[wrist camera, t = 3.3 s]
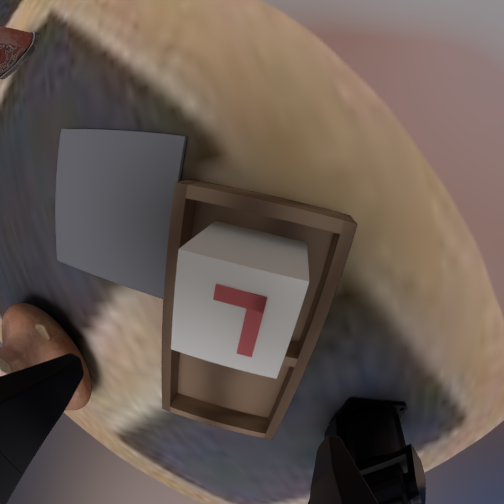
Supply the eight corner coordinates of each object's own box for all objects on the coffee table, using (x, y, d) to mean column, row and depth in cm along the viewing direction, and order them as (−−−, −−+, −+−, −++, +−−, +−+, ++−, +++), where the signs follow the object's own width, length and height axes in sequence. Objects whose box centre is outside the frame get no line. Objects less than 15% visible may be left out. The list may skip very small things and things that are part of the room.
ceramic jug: (31, 261, 23) (-67, 318, 10) (122, 359, 25) (39, 459, 11) (18, 339, 30) (-40, 388, 17) (84, 408, 31) (34, 471, 18)
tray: (350, 215, 17) (357, 224, 15) (274, 421, 24) (272, 439, 22) (190, 179, 18) (175, 182, 16) (171, 392, 25) (162, 408, 23)
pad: (187, 136, 17) (185, 136, 17) (167, 297, 21) (165, 299, 21) (64, 129, 18) (61, 128, 18) (60, 259, 22) (57, 260, 22)
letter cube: (306, 242, 18) (309, 282, 12) (284, 321, 20) (276, 380, 14) (215, 220, 18) (177, 249, 13) (203, 300, 20) (170, 350, 15)
